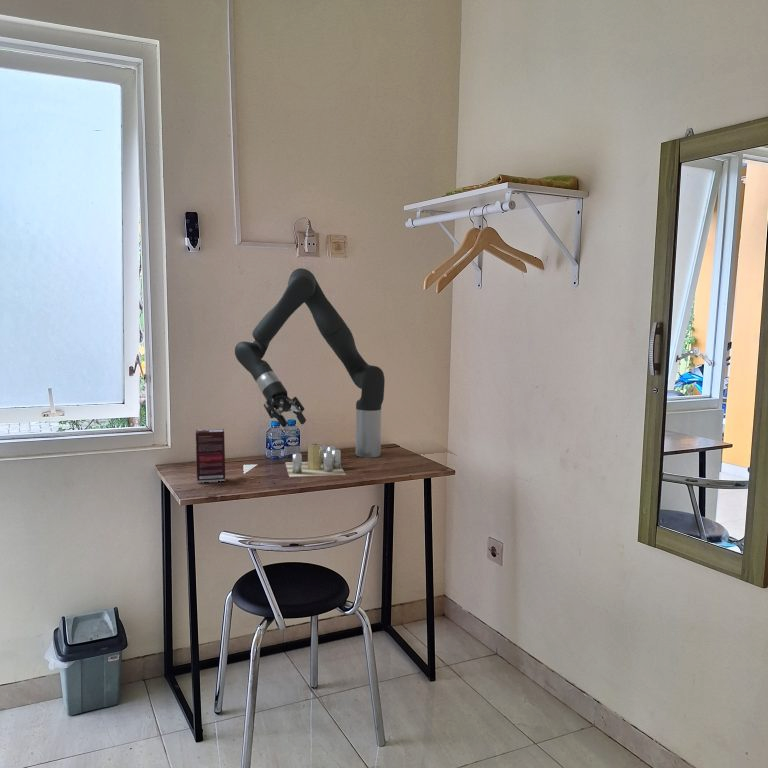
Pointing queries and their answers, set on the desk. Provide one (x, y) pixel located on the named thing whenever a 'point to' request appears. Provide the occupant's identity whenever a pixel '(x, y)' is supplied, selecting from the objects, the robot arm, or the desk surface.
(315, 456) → the tan faceted block
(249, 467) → the off-white mat
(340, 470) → the board
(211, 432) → the supplement box
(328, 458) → the posts
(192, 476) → the desk surface
